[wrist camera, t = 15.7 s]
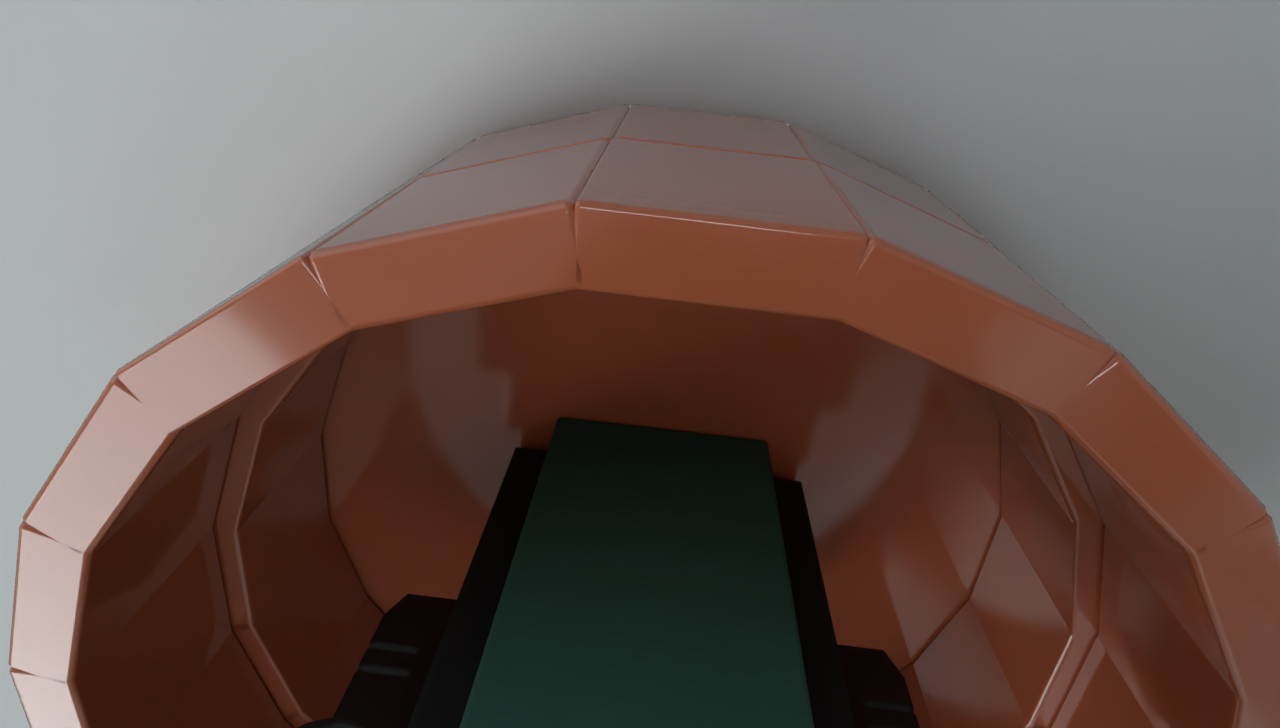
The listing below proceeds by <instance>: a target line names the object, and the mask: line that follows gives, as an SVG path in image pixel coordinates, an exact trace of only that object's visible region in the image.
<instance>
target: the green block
mask: <svg viewBox="0 0 1280 728" xmlns="http://www.w3.org/2000/svg"><path fill="white" fill-rule="evenodd" d="M459 728H814V723H813V717H812V711H811V705H810V699H809V693H808V687H807V681H806V675H805V668H804V662H803V656H802V650H801V644H800V638H799V632H798V626H797V620H796V614H795V608H794V602H793V596H792V590H791V584H790V578H789V571H788V565H787V559H786V553H785V547H784V541H783V535H782V529H781V523H780V517H779V511H778V505H777V499H776V493H775V487H774V481H773V474H772V468H771V462H770V456H769V450H768V445H767V442H765V441H761V440H752V439H744V438H735V437H727V436H718V435H710V434H701V433H693V432H684V431H676V430H667V429H659V428H650V427H641V426H633V425H624V424H616V423H607V422H599V421H590V420H582V419H573V418H565V417H560V418H558V419H557V421H556V425H555V428H554V431H553V434H552V437H551V440H550V444H549V447H548V450H547V453H546V456H545V459H544V462H543V466H542V469H541V472H540V475H539V478H538V481H537V485H536V488H535V491H534V494H533V497H532V500H531V503H530V507H529V510H528V513H527V516H526V519H525V522H524V526H523V529H522V532H521V535H520V538H519V541H518V544H517V548H516V551H515V554H514V557H513V560H512V563H511V566H510V570H509V573H508V576H507V579H506V582H505V585H504V589H503V592H502V595H501V598H500V601H499V604H498V607H497V611H496V614H495V617H494V620H493V623H492V626H491V630H490V633H489V636H488V639H487V642H486V645H485V648H484V652H483V655H482V658H481V661H480V664H479V667H478V671H477V674H476V677H475V680H474V683H473V686H472V689H471V693H470V696H469V699H468V702H467V705H466V708H465V711H464V715H463V718H462V721H461V724H460V727H459Z"/></svg>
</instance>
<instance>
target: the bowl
mask: <svg viewBox="0 0 1280 728" xmlns="http://www.w3.org/2000/svg"><path fill="white" fill-rule="evenodd" d="M560 417H565V418H573V419H582V420H590V421H599V422H607V423H616V424H624V425H633V426H641V427H650V428H659V429H667V430H676V431H684V432H693V433H701V434H710V435H718V436H727V437H735V438H744V439H752V440H761V441H765V442H767V445H768V450H769V456H770V462H771V468H772V474H773V478H776V479H784V480H792V481H800V482H801V483H802V488H803V492H804V497H805V501H806V506H807V510H808V515H809V519H810V524H811V528H812V533H813V537H814V542H815V546H816V551H817V555H818V560H819V564H820V569H821V573H822V578H823V582H824V587H825V591H826V596H827V600H828V605H829V609H830V614H831V618H832V623H833V627H834V632H835V636H836V641H837V644H839V645H847V646H855V647H863V648H871V649H880V650H884V651H885V653H886V654H887V655H888V657H889V658H890V659H891V661H892V662H893V663H894V665H895V666H896V667H897V669H898V670H899V671H900V673H901V674H902V675H903V677H904V678H905V681H906V684H907V687H908V691H909V694H910V697H911V700H912V704H913V707H914V714H916V717H917V720H918V723H919V726H920V728H1280V545H1279V542H1278V538H1277V535H1276V531H1275V528H1274V524H1273V521H1272V518H1271V516H1270V515H1268V514H1267V511H1266V508H1265V506H1264V505H1263V503H1262V502H1261V501H1260V500H1259V499H1258V498H1257V497H1256V496H1255V495H1254V494H1253V493H1252V492H1251V491H1250V490H1249V489H1248V487H1247V486H1246V485H1245V484H1244V483H1243V482H1242V481H1241V480H1240V479H1239V478H1238V477H1237V476H1236V475H1235V474H1234V473H1233V471H1232V470H1231V469H1230V468H1229V467H1228V466H1227V465H1226V464H1225V463H1224V462H1223V461H1222V460H1221V459H1220V458H1219V457H1218V455H1217V454H1216V453H1215V452H1214V451H1213V450H1212V449H1211V448H1210V447H1209V446H1208V445H1207V444H1206V443H1205V442H1204V441H1203V439H1202V438H1201V437H1200V436H1199V435H1198V434H1197V433H1196V432H1195V431H1194V430H1193V429H1192V428H1191V427H1190V426H1189V425H1188V423H1187V422H1186V421H1185V420H1184V419H1183V418H1182V417H1181V416H1180V415H1179V414H1178V413H1177V412H1176V411H1175V410H1174V409H1173V407H1172V406H1171V405H1170V404H1169V403H1168V402H1167V401H1166V400H1165V399H1164V398H1163V397H1162V396H1161V395H1160V394H1159V393H1158V391H1157V390H1156V389H1155V388H1154V387H1153V386H1152V385H1151V384H1150V383H1149V382H1148V381H1147V380H1146V379H1145V378H1144V377H1143V375H1142V374H1141V373H1140V372H1139V371H1138V370H1137V369H1136V368H1135V367H1134V366H1133V365H1132V364H1131V363H1130V362H1129V361H1128V359H1127V358H1126V357H1125V356H1124V355H1123V354H1122V353H1120V352H1119V351H1118V350H1117V349H1116V348H1115V347H1113V346H1112V345H1111V344H1110V343H1109V342H1107V341H1106V340H1105V339H1104V338H1103V337H1101V336H1100V335H1099V334H1098V333H1097V332H1096V331H1094V330H1093V329H1092V328H1091V327H1090V326H1088V325H1087V324H1086V323H1085V322H1084V321H1082V320H1081V319H1080V318H1079V317H1078V316H1077V315H1075V314H1074V313H1073V312H1072V311H1071V310H1069V309H1068V308H1067V307H1066V306H1065V305H1063V304H1062V303H1061V302H1060V301H1059V300H1058V299H1056V298H1055V297H1054V296H1053V295H1052V294H1050V293H1049V292H1048V291H1047V290H1046V289H1044V288H1043V287H1042V286H1041V285H1040V284H1039V283H1037V282H1036V281H1035V280H1034V279H1033V278H1031V277H1030V276H1029V275H1028V274H1027V273H1025V272H1024V271H1023V270H1022V269H1021V268H1020V267H1018V266H1017V265H1016V264H1015V263H1014V262H1012V261H1011V260H1010V259H1009V258H1008V257H1006V256H1005V255H1004V254H1003V253H1002V252H1000V251H999V250H998V249H997V248H996V247H995V246H994V245H992V244H991V243H990V242H989V241H988V240H987V239H985V238H984V237H983V236H982V235H981V234H979V233H978V232H977V231H976V230H975V229H973V228H972V227H971V226H970V225H969V224H968V223H966V222H965V221H964V220H963V219H962V218H960V217H959V216H958V215H957V214H956V213H954V212H953V211H952V210H951V209H950V208H948V207H947V206H946V205H945V204H944V203H943V202H941V201H940V200H939V199H938V198H937V197H935V196H934V195H933V194H932V193H931V192H929V191H928V190H925V189H924V188H923V187H922V186H920V185H918V184H916V183H913V182H911V181H909V180H907V179H905V178H903V177H901V176H899V175H897V174H895V173H893V172H891V171H889V170H887V169H884V168H882V167H880V166H878V165H876V164H874V163H872V162H870V161H868V160H866V159H864V158H862V157H860V156H858V155H855V154H853V153H851V152H849V151H847V150H845V149H843V148H841V147H839V146H837V145H835V144H833V143H831V142H829V141H826V140H824V139H822V138H820V137H818V136H816V135H814V134H812V133H810V132H808V131H806V130H804V129H802V128H800V127H797V126H795V125H787V124H786V123H784V122H783V121H774V120H766V119H757V118H748V117H740V116H731V115H723V114H714V113H705V112H697V111H688V110H680V109H671V108H662V107H654V106H645V105H637V104H635V105H632V106H631V107H630V106H629V105H621V106H616V107H611V108H607V109H602V110H598V111H593V112H589V113H584V114H579V115H575V116H570V117H566V118H561V119H556V120H552V121H547V122H543V123H538V124H534V125H529V126H524V127H520V128H515V129H511V130H506V131H502V132H497V133H492V134H488V135H483V136H482V137H480V138H479V139H474V140H473V141H471V142H469V143H468V144H466V145H465V146H463V147H461V148H460V149H458V150H457V151H455V152H454V153H452V154H450V155H449V156H447V157H446V158H444V159H442V160H441V161H439V162H438V163H436V164H434V165H433V166H431V167H430V168H428V169H427V170H425V171H423V172H422V173H420V174H419V175H417V176H415V177H414V178H412V179H411V180H409V181H408V182H406V183H404V184H403V185H401V186H400V187H398V188H396V189H395V190H393V191H392V192H390V193H388V194H387V195H385V196H384V197H382V198H381V199H379V200H377V201H376V202H374V203H373V204H371V205H369V206H368V207H366V208H365V209H363V210H362V211H360V212H359V213H357V214H355V215H354V216H352V217H351V218H349V219H348V220H346V221H345V222H343V223H342V224H340V225H339V226H337V227H336V228H334V229H333V230H331V231H329V232H328V233H326V234H325V235H323V236H322V237H320V238H319V239H317V240H316V241H314V242H313V243H311V244H310V245H308V246H306V247H305V248H303V249H302V250H300V251H299V252H297V253H296V254H294V255H293V256H291V257H290V258H288V259H287V260H285V261H284V262H282V263H280V264H279V265H277V266H276V267H274V268H273V269H271V270H270V271H268V272H267V273H265V274H263V275H262V276H260V277H259V278H257V279H256V280H254V281H253V282H251V283H250V284H248V285H247V286H245V287H244V288H242V289H241V290H239V291H237V292H236V293H234V294H233V295H231V296H230V297H228V298H227V299H225V300H224V301H222V302H221V303H219V304H218V305H216V306H214V307H213V308H211V309H210V310H208V311H207V312H205V313H204V314H202V315H201V316H199V317H198V318H196V319H195V320H193V321H192V322H190V323H188V324H187V325H185V326H184V327H182V328H181V329H179V330H178V331H176V332H175V333H173V334H172V335H170V336H169V337H167V338H166V339H164V340H162V341H161V342H159V343H158V344H156V345H155V346H153V347H152V348H150V349H149V350H147V351H146V352H144V353H143V354H141V355H139V356H138V357H136V358H135V359H133V360H132V361H130V362H129V363H127V364H126V365H124V366H123V367H121V368H120V369H118V370H117V372H116V374H115V375H114V376H113V377H112V378H111V380H110V381H109V383H108V384H107V386H106V388H105V389H104V391H103V392H102V394H101V395H100V397H99V398H98V400H97V402H96V403H95V405H94V406H93V408H92V409H91V411H90V413H89V414H88V416H87V417H86V419H85V420H84V422H83V423H82V425H81V427H80V428H79V430H78V431H77V433H76V434H75V436H74V437H73V439H72V441H71V442H70V444H69V445H68V447H67V448H66V450H65V452H64V453H63V455H62V456H61V458H60V459H59V461H58V462H57V464H56V466H55V467H54V469H53V470H52V472H51V473H50V475H49V477H48V478H47V480H46V481H45V483H44V484H43V486H42V487H41V489H40V491H39V492H38V494H37V495H36V497H35V498H34V500H33V502H32V503H31V505H30V506H29V508H28V509H27V511H26V512H25V515H24V517H23V520H24V521H23V522H22V523H21V525H20V528H19V540H18V553H17V565H16V578H15V591H14V603H13V616H12V628H11V641H10V653H9V665H10V666H11V669H10V674H11V677H12V679H13V682H14V685H15V687H16V690H17V693H18V695H19V698H20V701H21V704H22V706H23V709H24V712H25V714H26V717H27V720H28V722H29V725H30V728H298V727H300V726H302V725H303V724H305V723H308V722H312V721H317V720H322V719H327V718H333V716H334V714H335V712H336V710H337V708H338V706H339V704H340V702H341V700H342V698H343V696H344V694H345V692H346V690H347V688H348V686H349V684H350V682H351V680H352V678H353V676H354V674H355V672H357V670H358V665H359V663H360V661H361V659H362V657H363V655H364V653H365V651H366V649H368V648H369V643H370V641H371V639H372V637H373V635H374V633H375V631H376V629H377V627H378V625H379V623H380V621H381V619H382V617H383V615H385V614H386V613H387V612H388V611H389V610H390V609H391V608H392V607H393V606H394V605H396V604H397V603H398V602H399V601H400V600H401V599H402V598H403V597H404V596H406V595H407V594H415V595H423V596H431V597H440V598H448V599H456V600H457V598H458V595H459V592H460V590H461V587H462V585H463V582H464V579H465V577H466V574H467V572H468V569H469V567H470V564H471V561H472V559H473V556H474V554H475V551H476V548H477V546H478V543H479V541H480V538H481V536H482V533H483V530H484V528H485V525H486V523H487V520H488V517H489V515H490V512H491V510H492V507H493V505H494V502H495V499H496V497H497V494H498V492H499V489H500V486H501V484H502V481H503V479H504V476H505V474H506V471H507V468H508V466H509V463H510V461H511V458H512V455H513V453H514V450H515V448H516V447H518V448H527V449H535V450H543V451H547V450H548V447H549V444H550V440H551V437H552V434H553V431H554V428H555V425H556V421H557V419H558V418H560Z"/></svg>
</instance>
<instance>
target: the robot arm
mask: <svg viewBox="0 0 1280 728" xmlns="http://www.w3.org/2000/svg"><path fill="white" fill-rule="evenodd" d="M546 453H547V451H543V450H535V449H527V448H518V447H516V448H515V450H514V453H513V455H512V458H511V461H510V463H509V466H508V468H507V471H506V474H505V476H504V479H503V481H502V484H501V486H500V489H499V492H498V494H497V497H496V499H495V502H494V505H493V507H492V510H491V512H490V515H489V517H488V520H487V523H486V525H485V528H484V530H483V533H482V536H481V538H480V541H479V543H478V546H477V548H476V551H475V554H474V556H473V559H472V561H471V564H470V567H469V569H468V572H467V574H466V577H465V579H464V582H463V585H462V587H461V590H460V592H459V595H458V598H457V600H456V599H448V598H440V597H431V596H423V595H415V594H407V595H406V596H404V597H403V598H402V599H401V600H400V601H399V602H398V603H397V604H396V605H394V606H393V607H392V608H391V609H390V610H389V611H388V612H387V613H386V614H385V615H383V617H382V619H381V621H380V623H379V625H378V627H377V629H376V631H375V633H374V635H373V637H372V639H371V641H370V643H369V648H368V649H366V651H365V653H364V655H363V657H362V659H361V661H360V663H359V665H358V670H357V672H355V674H354V676H353V678H352V680H351V682H350V684H349V686H348V688H347V690H346V692H345V694H344V696H343V698H342V700H341V702H340V704H339V706H338V708H337V710H336V712H335V714H334V716H333V718H327V719H322V720H317V721H312V722H308V723H305V724H303V725H302V726H300V727H298V728H459V727H460V724H461V721H462V718H463V715H464V711H465V708H466V705H467V702H468V699H469V696H470V693H471V689H472V686H473V683H474V680H475V677H476V674H477V671H478V667H479V664H480V661H481V658H482V655H483V652H484V648H485V645H486V642H487V639H488V636H489V633H490V630H491V626H492V623H493V620H494V617H495V614H496V611H497V607H498V604H499V601H500V598H501V595H502V592H503V589H504V585H505V582H506V579H507V576H508V573H509V570H510V566H511V563H512V560H513V557H514V554H515V551H516V548H517V544H518V541H519V538H520V535H521V532H522V529H523V526H524V522H525V519H526V516H527V513H528V510H529V507H530V503H531V500H532V497H533V494H534V491H535V488H536V485H537V481H538V478H539V475H540V472H541V469H542V466H543V462H544V459H545V456H546ZM773 481H774V487H775V493H776V499H777V505H778V511H779V517H780V523H781V529H782V535H783V541H784V547H785V553H786V559H787V565H788V571H789V578H790V584H791V590H792V596H793V602H794V608H795V614H796V620H797V626H798V632H799V638H800V644H801V650H802V656H803V662H804V668H805V675H806V681H807V687H808V693H809V699H810V705H811V711H812V717H813V723H814V728H920V726H919V723H918V720H917V717H916V714H914V707H913V704H912V700H911V697H910V694H909V691H908V687H907V684H906V681H905V678H904V677H903V675H902V674H901V673H900V671H899V670H898V669H897V667H896V666H895V665H894V663H893V662H892V661H891V659H890V658H889V657H888V655H887V654H886V653H885V651H884V650H880V649H871V648H863V647H855V646H847V645H839V644H837V641H836V636H835V632H834V627H833V623H832V618H831V614H830V609H829V605H828V600H827V596H826V591H825V587H824V582H823V578H822V573H821V569H820V564H819V560H818V555H817V551H816V546H815V542H814V537H813V533H812V528H811V524H810V519H809V515H808V510H807V506H806V501H805V497H804V492H803V488H802V483H801V482H800V481H792V480H784V479H776V478H773Z"/></svg>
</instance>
